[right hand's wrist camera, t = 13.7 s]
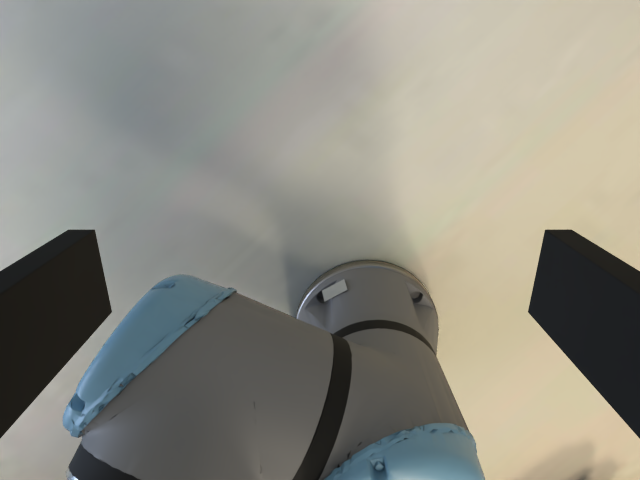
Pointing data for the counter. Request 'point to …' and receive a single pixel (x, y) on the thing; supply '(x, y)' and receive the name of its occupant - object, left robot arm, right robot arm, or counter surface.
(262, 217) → the counter surface
